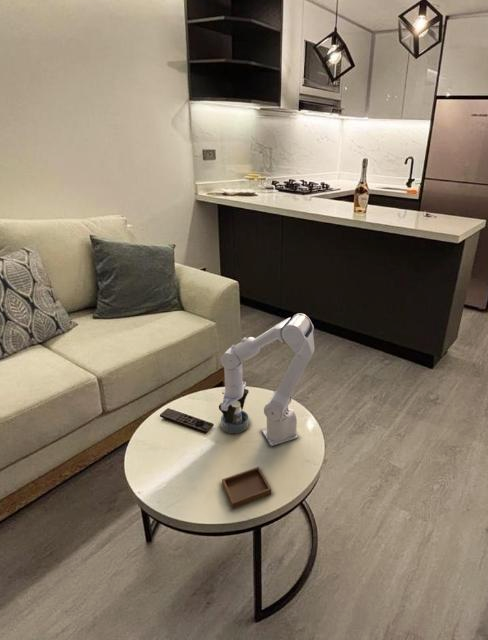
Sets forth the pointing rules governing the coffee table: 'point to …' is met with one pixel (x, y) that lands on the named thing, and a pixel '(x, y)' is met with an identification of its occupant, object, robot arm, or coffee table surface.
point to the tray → (246, 487)
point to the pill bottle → (237, 414)
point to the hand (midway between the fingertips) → (234, 415)
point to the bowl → (235, 428)
